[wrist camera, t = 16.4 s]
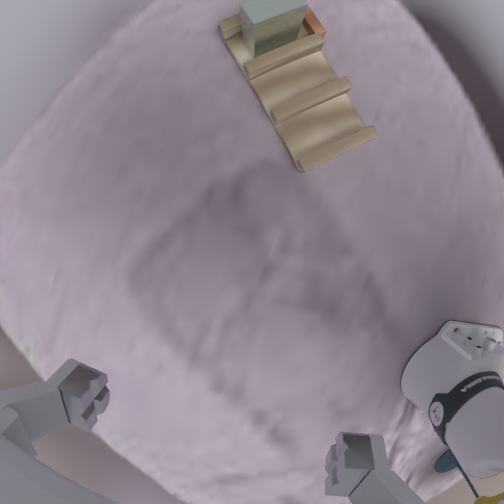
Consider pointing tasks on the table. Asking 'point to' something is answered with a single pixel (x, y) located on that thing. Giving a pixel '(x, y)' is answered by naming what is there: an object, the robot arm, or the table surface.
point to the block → (270, 23)
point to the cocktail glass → (450, 462)
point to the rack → (301, 94)
